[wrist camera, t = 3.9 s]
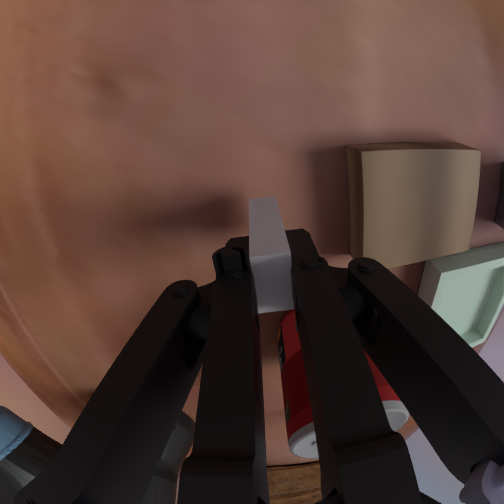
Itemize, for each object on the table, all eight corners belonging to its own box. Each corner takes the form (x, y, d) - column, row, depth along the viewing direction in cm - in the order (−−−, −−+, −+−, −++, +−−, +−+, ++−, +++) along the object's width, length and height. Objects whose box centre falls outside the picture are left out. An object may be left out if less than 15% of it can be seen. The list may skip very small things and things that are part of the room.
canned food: (258, 323, 22) (264, 446, 13) (341, 272, 20) (396, 394, 10) (304, 363, 25) (321, 464, 16) (375, 324, 23) (418, 423, 13)
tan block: (348, 251, 20) (362, 273, 17) (343, 144, 16) (361, 151, 13) (449, 233, 19) (468, 250, 16) (455, 142, 15) (480, 150, 13)
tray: (397, 355, 26) (405, 372, 24) (426, 257, 20) (441, 273, 17) (475, 328, 25) (484, 341, 23) (508, 240, 19) (522, 252, 17)
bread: (199, 463, 44) (195, 515, 32) (342, 454, 44) (351, 505, 32) (209, 474, 50) (207, 519, 38) (332, 467, 50) (338, 510, 38)
